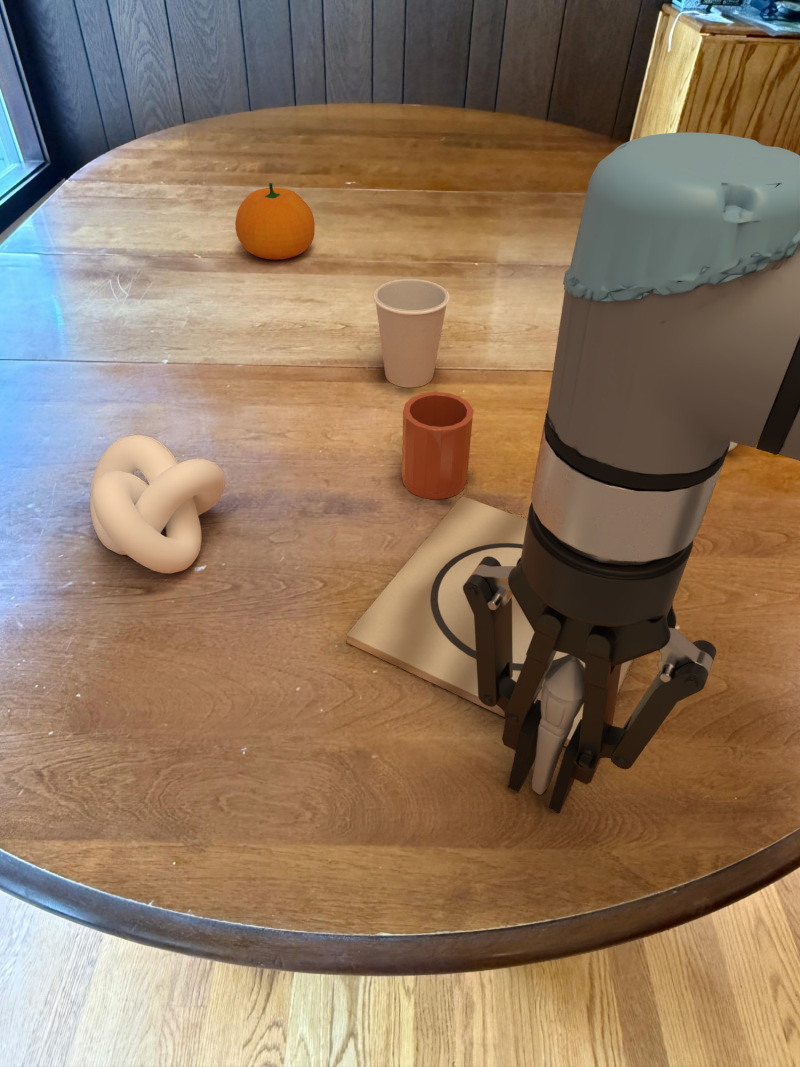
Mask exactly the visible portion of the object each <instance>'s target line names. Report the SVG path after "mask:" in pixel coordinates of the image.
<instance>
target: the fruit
mask: <svg viewBox="0 0 800 1067" xmlns="http://www.w3.org/2000/svg"><path fill="white" fill-rule="evenodd" d="M268 185H269V186H268V187H266V188H265V187H264V188H261V189H256V190H254V191H252V192H250V193H249V194H248V195H247V196H246V197H245V198H244V200H243V201H242V202H241V204H240V205H239V207H238V209H237V211H236V216H235V222H234V224H235V227H234V228H235V233H236V237H237V239H238V242H240V244H241V245H242V247H243V248H244V250H246V251H247V252H248V253H249V254H252V255H253V256H255V257H258V258H261V259H266V260H273V261H275V260H276V261H277V260H286V259H290V258H293V257H297V256H298V255H301V254H302V253H304V252H306V251H307V249H308V248H309V246H311V244H312V242H313V241H314V238H315V231H316V230H315V226H316V225H315V224H316V223H315V217H314V214H313V211H312V209H311V208H310V206H309V205H308V203H307V202H306V201H305V199H304V198H302V197H301V196H300V195H299V194H298V193H296V191H294V190H291V189H288V188H284V187H273V183H272V182H269V183H268Z"/></svg>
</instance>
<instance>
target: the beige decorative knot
mask: <svg viewBox="0 0 800 1067" xmlns="http://www.w3.org/2000/svg"><path fill="white" fill-rule="evenodd" d="M136 471H140V472H141V473H142V474H143V476H144V478H145V479H146V480H147V482H146V481H145V480H142V479H141V478H140V477H138V476H137V475H134V474H135V473H136ZM226 483H227V482H226V477H225V473H224V471H223V470H222V469H221V468H220V466H219V465H218V464H217V463H216V462H214V461H212V460H208V459H206V458H191V459H187V460H184V461H181V462H178V460H177V458H176V457H175V456H174V454H173V453H172V452H171V451H170V449H169V448H168V447H166V446H165V445H164V444H163V443H161V442H160V441H159V440H158V439H155V438H153V437H151V436H147V435H145V434H133V435H128V436H124V437H121V438H120V439H118V440H116V441H114V442H112V443H111V444H110V446H108V447H107V448H106V449H105V450H104V452H103V454H102V455H101V456H100V458H99V460H98V463H97V465H96V467H95V469H94V473H93V476H92V480H91V484H90V485H91V486H90V492H89V493H90V494H89V509H90V517H91V521H92V525H93V528H94V532H95V533H96V536H97V538H98V539H99V541H100V542H101V544H102V545H103V546H104V547H105V548H106V549H107V550H110V551H112V552H114V553H115V554H118V555H121V556H127V557H129V558H131V559H132V560H134V561H135V562H136V563H137V564H140V565H141V566H143V567H144V568H145V567H146V568H147V569H149V570H151V571H154V572H157V573H161V574H174V573H178V572H179V573H180V572H183V571H185V570H187V569H188V568H189V567H191V566H192V565H193V563H194V562H195V561H196V559H197V558H198V556H199V554H200V551H201V547H202V537H203V536H202V527H201V522H200V518H199V516H200V515H203V514H204V513H206V512H207V511H209V510H211V509H212V508H213V507H214V506H215V505H216V504H217V503H218V502H219V501H220V499H221V497H222V495H223V493H224V491H225V488H226ZM164 529H165V535H163V534H161V533H162V532H163V530H164Z"/></svg>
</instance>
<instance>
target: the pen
mask: <svg viewBox="0 0 800 1067" xmlns="http://www.w3.org/2000/svg"><path fill="white" fill-rule="evenodd" d="M584 671H585V668H584V666H583V664H582V663H581V662H580V660H579V659H578V658H576V657H575V656H572V657H569V658H567V659H565V660H563V661H562V662H560V663H558V664H556V665H554V666H553V667H552V668H550V669H549V671H548V672H547V674H546V676H545V682H544V685H543V689H542V694H541V715H542V718H541V720H540V724H539V726H538V737H537V748H536V757H535V761H534V764H533V765H534V766H533V772H532V777H531V789H532V791H533V792H535V793H536V794H538V795H540V796H541V795H543V793H545V791H546V790H547V789H548V787H549V786H550V784H551V783H552V779H553V777H554V774H555V771H556V768H557V765H558V763H559V760H560V757H561V754H562V752H563V749H564V747H565V746H564V744H565V742H566V740H567V738H568V735H569V733H570V731H571V729H572V727H573V722H574V718H575V717H576V716H577V714H578V712H579V711H580V709H581V707H582V705H583V703H584V695H585V686H586V683H585V682H584Z"/></svg>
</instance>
